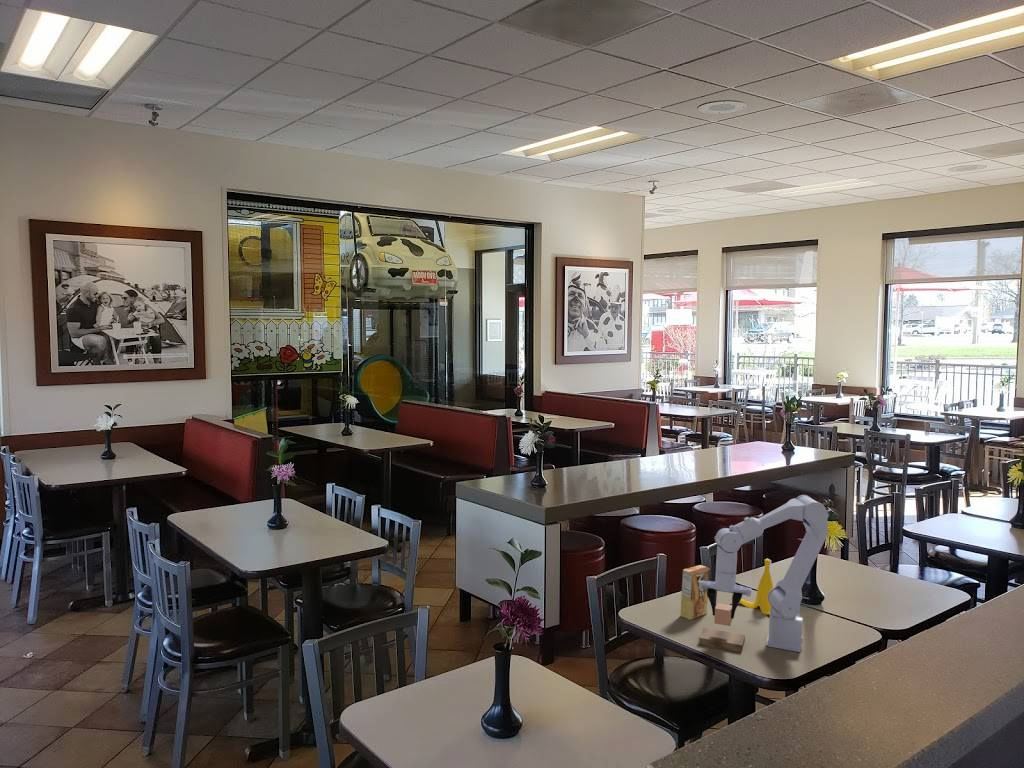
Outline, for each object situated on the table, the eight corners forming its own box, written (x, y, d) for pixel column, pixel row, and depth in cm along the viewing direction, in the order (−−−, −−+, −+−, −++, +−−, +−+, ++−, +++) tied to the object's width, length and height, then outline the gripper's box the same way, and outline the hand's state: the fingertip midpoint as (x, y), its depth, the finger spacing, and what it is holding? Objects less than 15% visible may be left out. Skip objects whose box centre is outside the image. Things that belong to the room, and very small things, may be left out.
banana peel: (786, 602, 260) (789, 554, 258) (779, 622, 243) (783, 570, 241) (736, 594, 267) (739, 546, 265) (726, 612, 250) (729, 561, 248)
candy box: (696, 610, 250) (699, 564, 249) (707, 614, 247) (710, 567, 246) (679, 616, 245) (682, 569, 243) (690, 620, 241) (692, 572, 240)
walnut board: (744, 641, 226) (745, 634, 226) (741, 652, 219) (742, 645, 219) (703, 634, 231) (703, 627, 231) (699, 644, 224) (699, 637, 223)
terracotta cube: (732, 620, 226) (732, 605, 226) (730, 626, 222) (731, 611, 222) (716, 617, 228) (717, 603, 227) (714, 623, 224) (715, 608, 223)
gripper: (753, 570, 224) (750, 615, 225) (702, 562, 230) (700, 607, 231) (751, 577, 218) (748, 624, 219) (698, 569, 223) (696, 615, 224)
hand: (723, 615), depth 224 cm, fingers closed on terracotta cube, 4 cm apart
